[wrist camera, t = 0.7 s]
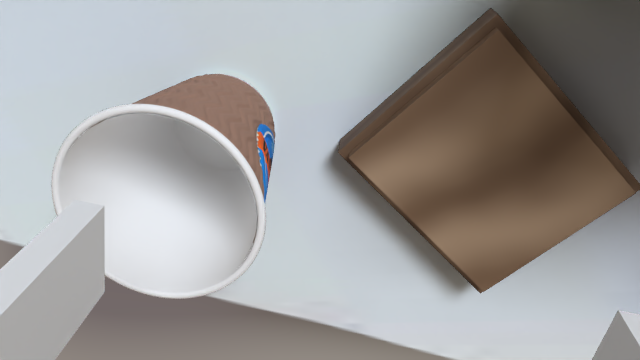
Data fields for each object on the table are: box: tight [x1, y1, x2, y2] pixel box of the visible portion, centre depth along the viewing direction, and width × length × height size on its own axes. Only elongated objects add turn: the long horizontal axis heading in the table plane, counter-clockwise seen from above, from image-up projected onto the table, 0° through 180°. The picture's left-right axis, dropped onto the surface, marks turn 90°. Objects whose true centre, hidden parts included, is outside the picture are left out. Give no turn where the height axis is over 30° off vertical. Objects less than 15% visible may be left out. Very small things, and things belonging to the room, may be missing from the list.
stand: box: [338, 8, 640, 293], centre depth 34 cm, size 14×12×3 cm
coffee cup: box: [51, 74, 275, 299], centre depth 31 cm, size 10×10×12 cm
